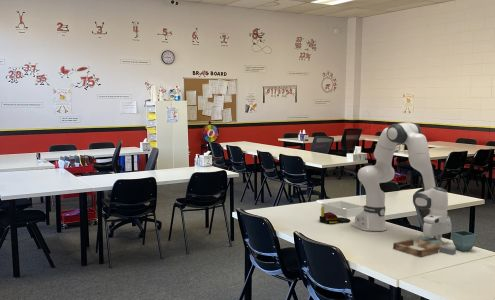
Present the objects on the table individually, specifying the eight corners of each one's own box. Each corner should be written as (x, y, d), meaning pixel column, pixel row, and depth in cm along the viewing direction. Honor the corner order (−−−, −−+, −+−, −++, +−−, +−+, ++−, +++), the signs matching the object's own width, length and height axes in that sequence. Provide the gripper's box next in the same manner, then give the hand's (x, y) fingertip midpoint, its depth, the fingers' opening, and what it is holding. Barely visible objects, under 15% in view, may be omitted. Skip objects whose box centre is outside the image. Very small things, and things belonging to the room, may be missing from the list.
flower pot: (461, 252, 249) (462, 235, 248) (450, 247, 258) (451, 231, 257) (476, 251, 252) (476, 234, 251) (464, 246, 260) (465, 230, 259)
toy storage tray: (321, 211, 344) (321, 203, 343) (341, 208, 354) (341, 200, 354) (346, 218, 323) (346, 209, 322) (366, 215, 333) (366, 206, 333)
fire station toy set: (315, 221, 316) (315, 204, 315) (342, 219, 322) (343, 203, 321) (325, 226, 302) (325, 209, 301) (353, 224, 308) (354, 207, 307)
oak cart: (417, 247, 260) (418, 238, 259) (425, 244, 265) (425, 236, 265) (435, 251, 252) (435, 242, 252) (442, 248, 258) (443, 240, 257)
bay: (393, 248, 255) (393, 243, 255) (411, 244, 263) (411, 239, 263) (420, 257, 241) (420, 251, 241) (438, 252, 249) (438, 247, 249)
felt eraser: (439, 252, 250) (439, 246, 250) (442, 250, 253) (442, 245, 253) (452, 255, 245) (452, 249, 245) (455, 254, 248) (456, 248, 247)
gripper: (444, 214, 269) (443, 238, 270) (421, 218, 258) (420, 243, 259) (455, 216, 264) (453, 241, 265) (431, 221, 252) (430, 246, 254)
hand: (437, 242), depth 262 cm, fingers closed
